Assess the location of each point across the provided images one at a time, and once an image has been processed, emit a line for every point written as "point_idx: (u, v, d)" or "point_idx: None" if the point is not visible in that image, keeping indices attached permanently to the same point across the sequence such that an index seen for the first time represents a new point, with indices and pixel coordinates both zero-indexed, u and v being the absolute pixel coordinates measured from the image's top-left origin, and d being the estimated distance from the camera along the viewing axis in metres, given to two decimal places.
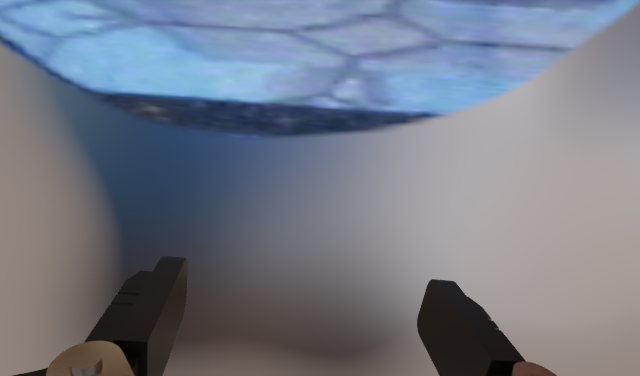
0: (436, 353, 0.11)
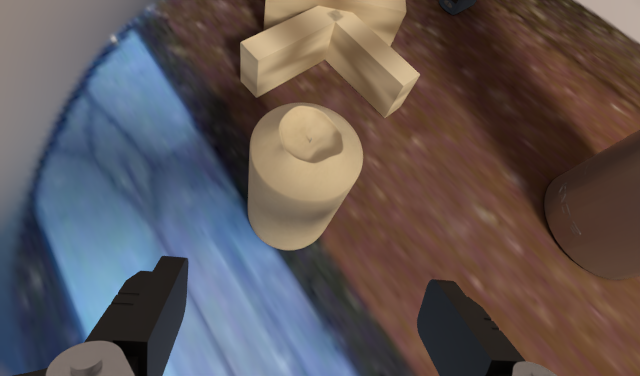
0: (436, 353, 0.11)
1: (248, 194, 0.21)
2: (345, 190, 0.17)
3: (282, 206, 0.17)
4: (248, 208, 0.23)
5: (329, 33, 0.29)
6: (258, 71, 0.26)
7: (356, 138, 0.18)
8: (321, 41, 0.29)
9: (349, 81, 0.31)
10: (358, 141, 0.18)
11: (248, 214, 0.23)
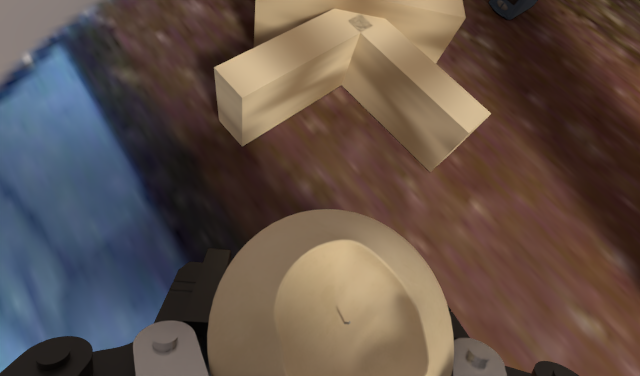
0: None
1: None
2: None
3: None
4: None
5: (351, 49, 0.19)
6: (243, 112, 0.16)
7: (439, 293, 0.08)
8: (338, 61, 0.19)
9: (377, 117, 0.21)
10: (442, 298, 0.08)
11: None
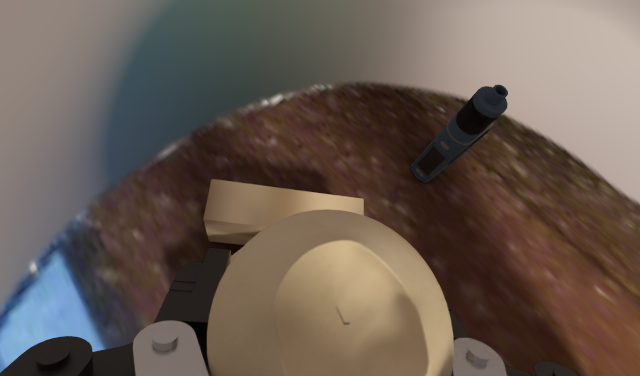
0: None
1: None
2: None
3: None
4: None
5: None
6: None
7: (439, 294, 0.08)
8: None
9: None
10: (442, 298, 0.08)
11: None
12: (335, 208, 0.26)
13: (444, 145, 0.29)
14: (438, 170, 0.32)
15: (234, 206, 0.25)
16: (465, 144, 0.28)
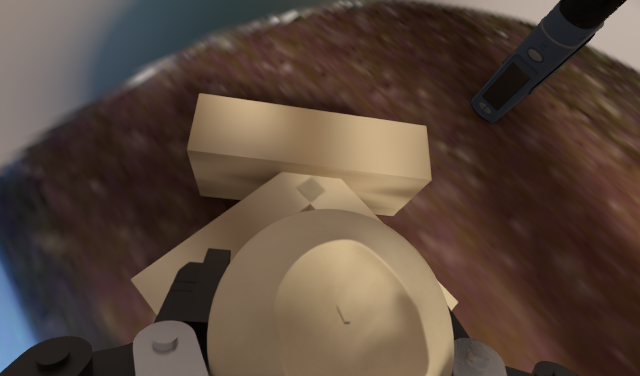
0: None
1: None
2: None
3: None
4: None
5: None
6: None
7: (439, 293, 0.08)
8: None
9: None
10: (442, 298, 0.08)
11: None
12: (386, 138, 0.17)
13: (535, 54, 0.20)
14: (516, 99, 0.23)
15: (235, 132, 0.16)
16: (570, 48, 0.19)
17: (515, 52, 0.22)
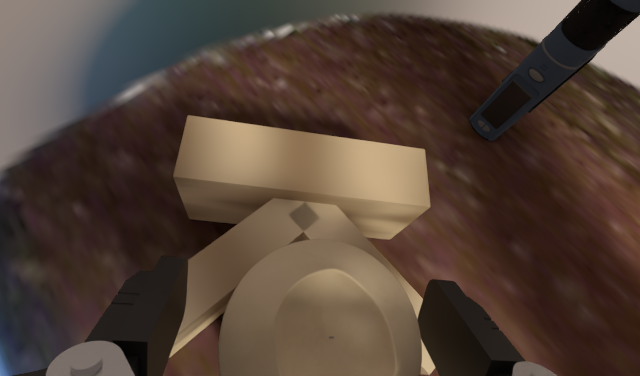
0: (436, 353, 0.11)
1: None
2: None
3: None
4: None
5: None
6: None
7: (410, 311, 0.10)
8: None
9: None
10: (413, 315, 0.10)
11: None
12: (383, 162, 0.17)
13: (535, 74, 0.20)
14: (516, 119, 0.23)
15: (225, 157, 0.15)
16: (572, 69, 0.19)
17: (515, 71, 0.21)
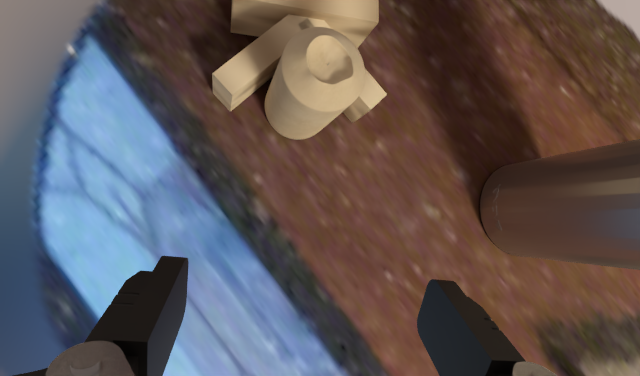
0: (436, 353, 0.11)
1: (270, 98, 0.27)
2: (352, 102, 0.23)
3: (305, 114, 0.23)
4: (267, 108, 0.28)
5: None
6: (232, 99, 0.27)
7: (360, 59, 0.23)
8: None
9: None
10: (362, 61, 0.23)
11: (266, 112, 0.29)
12: None
13: None
14: None
15: None
16: None
17: None
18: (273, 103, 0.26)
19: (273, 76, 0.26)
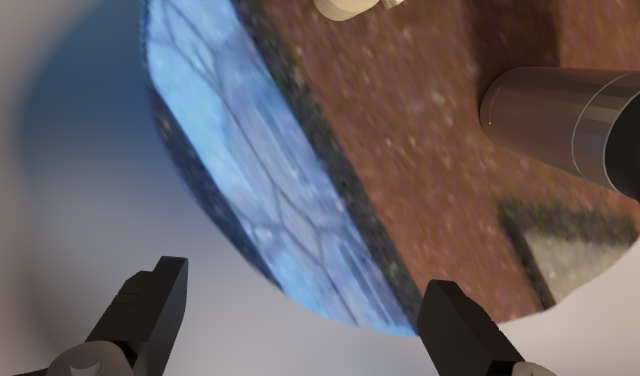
0: (436, 353, 0.11)
1: None
2: (373, 5, 0.29)
3: (336, 9, 0.30)
4: None
5: None
6: None
7: None
8: None
9: None
10: None
11: None
12: None
13: None
14: None
15: None
16: None
17: None
18: None
19: None
